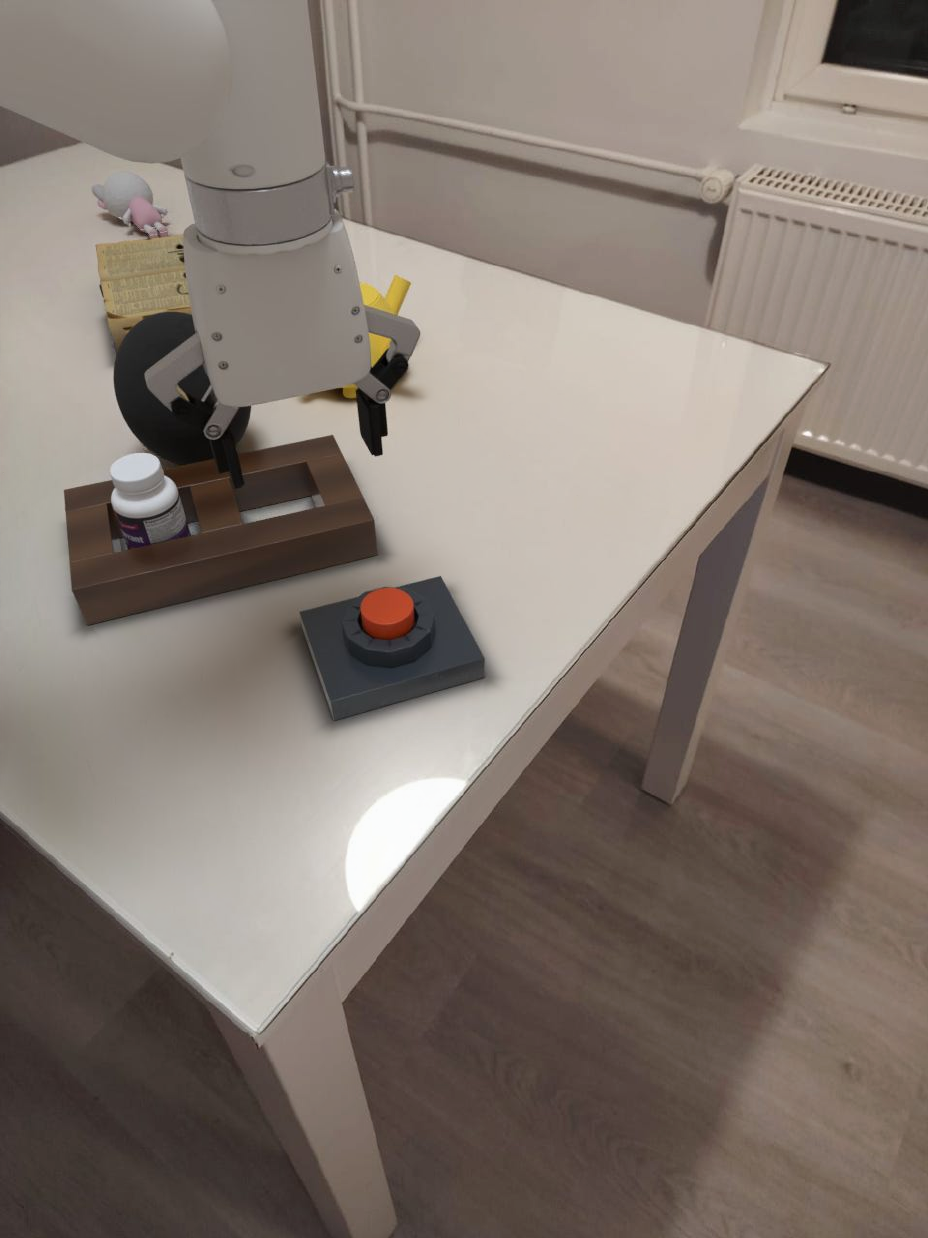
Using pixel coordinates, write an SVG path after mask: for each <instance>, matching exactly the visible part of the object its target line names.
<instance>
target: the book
mask: <svg viewBox="0 0 928 1238" xmlns="http://www.w3.org/2000/svg"><path fill="white" fill-rule="evenodd" d="M183 235H184V233H182V234H175V235H168V236H167V237H160V236H159V237H158V238H153V239H150V238H143V239H135V240H123V241H118V242H109V243H107V242H106V243H96V244H95V246H94V247H95V250H96V251H95V252H96V257H97V271H98V275H99V280H100V284H99V286H98V287H99V289H100V294H101V296H102V299H103V303H104V306H105V313H106V319H107V324H108V328H109V332H110V333H111V334H110V335H111V337H112V344H113V349H114V354H115V356H116V355H117V352H118V349H119V346H120V344H121V342H122V341H123V339H124V337H125V336H126V334H127V333H128V332H129V331H130V330H131V329H132V327H133V326H135V325H136V324H137V323H138V322H140V321H141V320H143V319H144V318H146V317H149V316H151V315H153V314H157V313H161V312H183V313H187V314H191V315H192V312H191V306H190V300H189V295H188V288H187V281H186V273H185V261H184V244H183Z"/></svg>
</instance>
